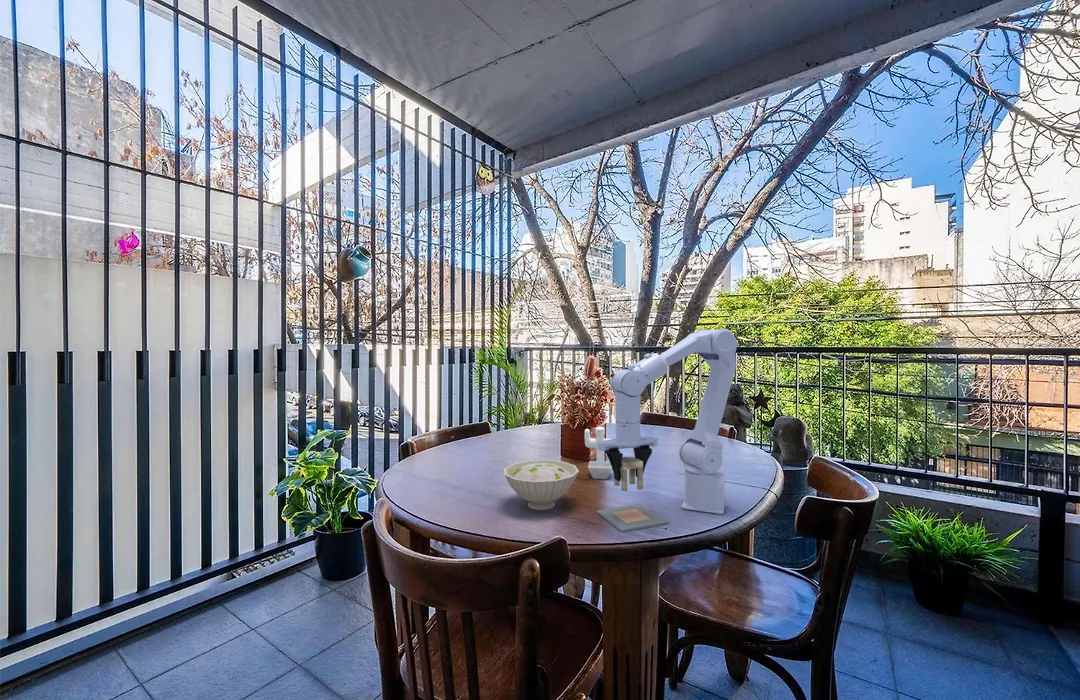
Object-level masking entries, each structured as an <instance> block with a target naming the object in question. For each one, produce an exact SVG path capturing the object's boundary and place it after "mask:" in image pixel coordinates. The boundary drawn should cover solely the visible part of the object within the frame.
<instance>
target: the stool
mask: <svg viewBox="0 0 1080 700" xmlns="http://www.w3.org/2000/svg"><path fill="white" fill-rule="evenodd" d="M635 468H637V477H636V474H635ZM628 471H629V472H628ZM628 475H629V476H628ZM628 479H629V480H628ZM620 483H621V484H620ZM628 483H629V484H630V485H635V484H636V489H637V490H644V473H643V461H641V460H639V459H637V458H635V455H634V456H632V455H631V456H623V457H622V463H621V481H617V480H616V479H614V478H613V485H614V486H615V487H620V485H621V488H620V489H621V490H620V491H623V492H627V491H628Z"/></svg>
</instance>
